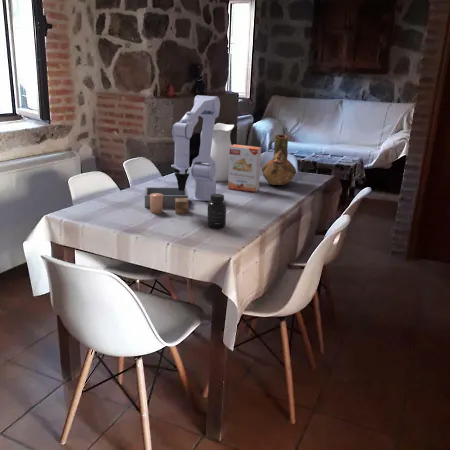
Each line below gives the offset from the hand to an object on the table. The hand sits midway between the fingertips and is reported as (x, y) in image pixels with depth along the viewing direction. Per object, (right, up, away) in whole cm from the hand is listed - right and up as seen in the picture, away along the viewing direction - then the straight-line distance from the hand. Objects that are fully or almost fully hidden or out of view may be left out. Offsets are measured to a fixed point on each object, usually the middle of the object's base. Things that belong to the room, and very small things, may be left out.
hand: (181, 188), depth 190 cm
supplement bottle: (+14, -15, -13) cm, 24 cm away
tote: (-8, -5, +14) cm, 17 cm away
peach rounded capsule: (-10, -9, +2) cm, 14 cm away
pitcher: (+12, +8, +57) cm, 59 cm away
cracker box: (+26, +2, +40) cm, 48 cm away
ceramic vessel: (+44, +5, +51) cm, 68 cm away
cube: (0, -9, +3) cm, 10 cm away
